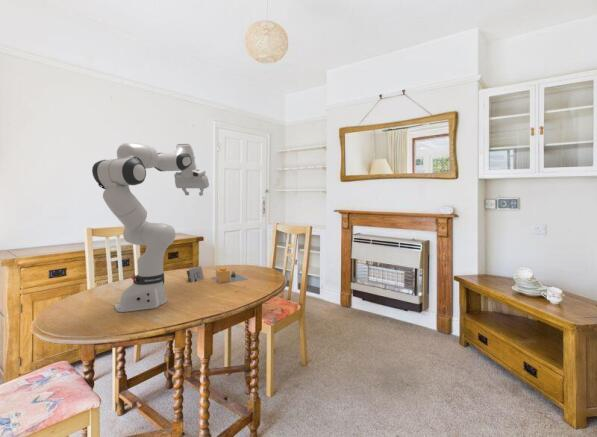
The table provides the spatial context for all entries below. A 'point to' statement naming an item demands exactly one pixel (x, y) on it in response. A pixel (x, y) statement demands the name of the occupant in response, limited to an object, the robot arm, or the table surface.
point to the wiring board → (232, 278)
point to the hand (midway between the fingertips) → (194, 195)
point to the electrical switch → (195, 274)
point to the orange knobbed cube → (222, 275)
